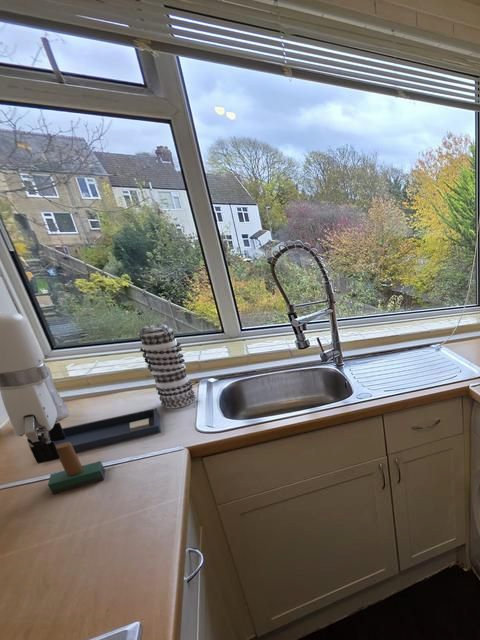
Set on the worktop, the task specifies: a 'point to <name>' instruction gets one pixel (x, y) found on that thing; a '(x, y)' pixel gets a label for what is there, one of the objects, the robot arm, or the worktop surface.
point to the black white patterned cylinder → (166, 366)
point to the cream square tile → (139, 424)
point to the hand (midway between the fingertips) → (52, 450)
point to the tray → (110, 430)
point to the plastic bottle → (56, 397)
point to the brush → (73, 471)
